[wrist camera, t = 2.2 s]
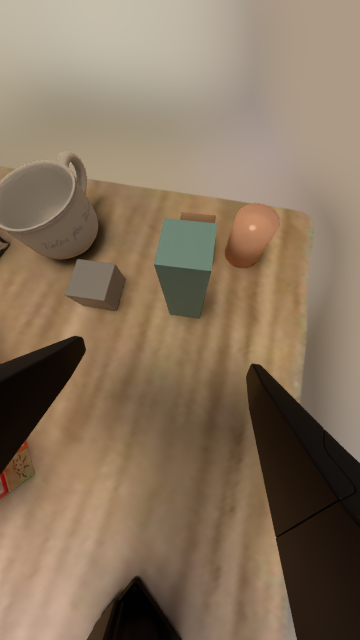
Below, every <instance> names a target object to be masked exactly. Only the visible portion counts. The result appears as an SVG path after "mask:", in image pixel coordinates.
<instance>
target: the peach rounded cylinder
mask: <svg viewBox="0 0 360 640" xmlns="http://www.w3.org/2000/svg"><path fill="white" fill-rule="evenodd" d="M279 226H280V218H279V216H278V214H277V212H276V211H275V210H274V209H272V208H271V207H269V206H267V205H264V204H259V203H253V204H249V205H246V206H244V207H242V208H241V209H240V210H239V212H238V213H237V216H236V219H235V222H234V225H233V228H232V231H231V234H230V237H229V240H228V243H227V246H226V249H225V256H226V259H227V260H228V262H229V263H230V264H232V265H233V266H235V267H239V268H247V267H250V266H252V265H254V264H255V263H256V262H257V260H258V259H259V257H260V256H261V254H262V253H263V251H264V250H265V248H266V247H267V245H268V244H269V242H270V241H271V239H272V238H273V236H274V235H275V233H276V232H277V230H278V229H279Z"/></svg>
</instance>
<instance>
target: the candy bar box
mask: <svg viewBox="0 0 360 640" xmlns="http://www.w3.org/2000/svg"><path fill="white" fill-rule="evenodd" d="M8 245H9V243H8V242H7V241H5V240H4V239H2V238H1V237H0V255H1V254H2V253H3V252H4V251H5V250H6V248H7V247H8Z"/></svg>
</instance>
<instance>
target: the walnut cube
mask: <svg viewBox="0 0 360 640" xmlns="http://www.w3.org/2000/svg"><path fill="white" fill-rule="evenodd" d="M215 219H216V216H215V215H204V214H194V213H183V212H182V213H181V218H180V220H187V221H197V222H208V223H215Z"/></svg>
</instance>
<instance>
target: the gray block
mask: <svg viewBox="0 0 360 640" xmlns="http://www.w3.org/2000/svg"><path fill="white" fill-rule="evenodd" d="M124 283H125V278H124V276H123V275H122V273H121V272H120V270H119V269H118V268H117V266H116V265H115V264H112V263H104V262H97V261H89V260H81V259H77V262H76V265H75V268H74V270H73V273H72V276H71V279H70V281H69V284H68V287H67V289H66V292H65V295H66V296H67V297H69V298H71V299H72V300H74V301H76V302H78V303H79V304H81V305H83V306H88V307H94V308H101V309H108V310H114V311H117V308H118V305H119V301H120V297H121V294H122V290H123V286H124Z"/></svg>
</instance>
